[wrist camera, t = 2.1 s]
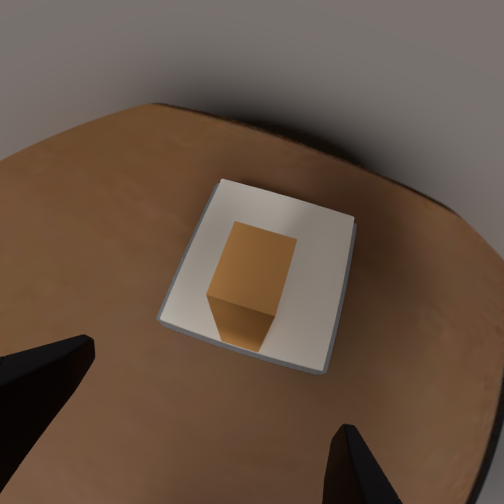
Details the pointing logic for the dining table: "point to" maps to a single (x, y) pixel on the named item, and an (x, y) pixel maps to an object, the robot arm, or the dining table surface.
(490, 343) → the dining table surface
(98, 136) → the dining table surface
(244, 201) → the lid
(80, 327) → the dining table surface
